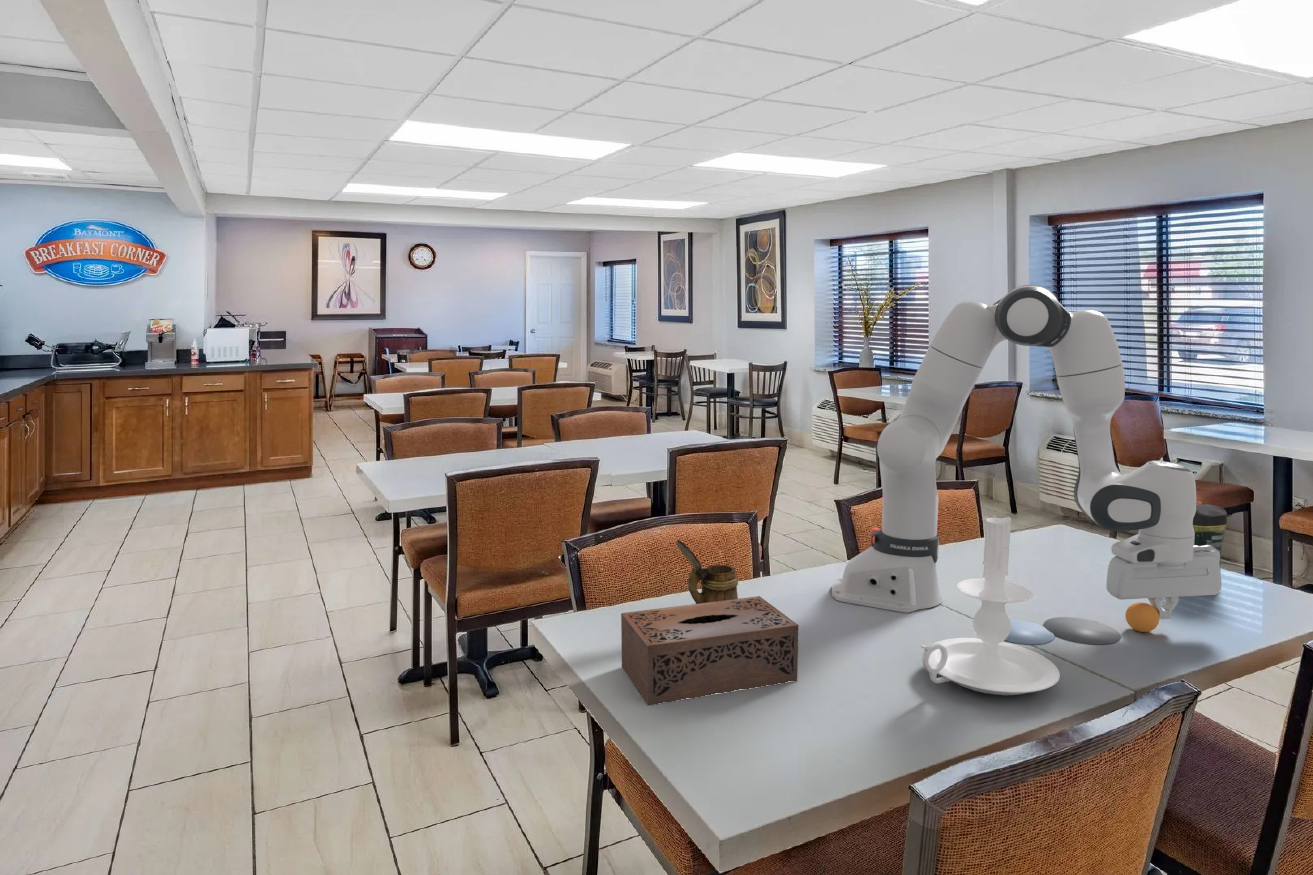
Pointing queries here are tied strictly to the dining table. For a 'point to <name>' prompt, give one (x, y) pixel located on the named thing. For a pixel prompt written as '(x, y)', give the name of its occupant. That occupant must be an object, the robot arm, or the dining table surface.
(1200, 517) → the coffee jar
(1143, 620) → the ball
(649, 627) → the tissue box cover
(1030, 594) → the candlestick
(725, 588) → the wooden mug
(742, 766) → the dining table surface
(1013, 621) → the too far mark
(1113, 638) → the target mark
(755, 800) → the dining table surface
